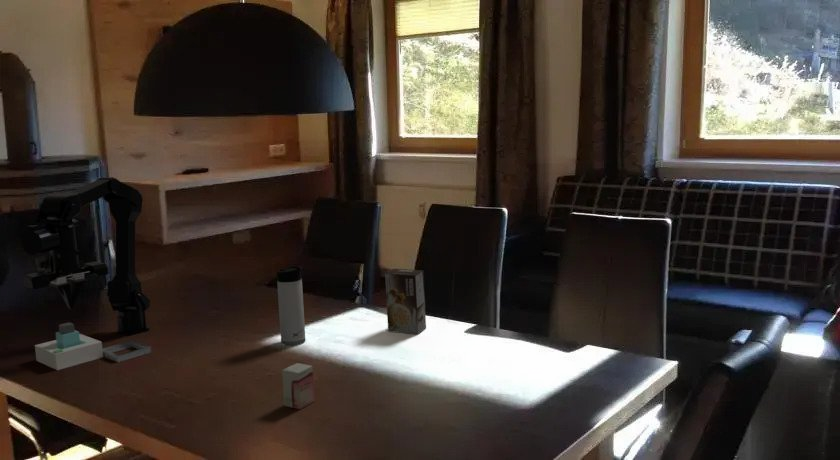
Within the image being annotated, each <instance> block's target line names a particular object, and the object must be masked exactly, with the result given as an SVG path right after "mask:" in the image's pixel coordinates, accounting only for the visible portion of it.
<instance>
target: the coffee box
mask: <svg viewBox="0 0 840 460" xmlns="http://www.w3.org/2000/svg"><path fill="white" fill-rule="evenodd" d="M424 271H425V270H423V269H421V270H420V269H419V270H418V269H406V268H405V269H403V268H401V269H400V268H393V269H391V270H389V271H387V272H386V273H385V274H384V275H385V280H384V281H385V296H386V297H385V298H386V314H387V315H386V317H387V332H388V333H389V332H390V333H401V334H402V333H403V334H413V335H419V334H421V333H422V332H424V330H426V329H427V320H426V315H427V314H426V297H425V295H426V293H425V292H426V291H425V272H424Z"/></svg>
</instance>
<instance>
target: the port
mask: <svg viewBox="0 0 840 460" xmlns="http://www.w3.org/2000/svg"><path fill="white" fill-rule="evenodd" d="M79 337H80V345H76V346H73V347H69V348H65V349H59V348H57V341H56V339H55V340H50V341H46V342H42V343H39V344H35V345H34V349H35V358H36V359H35V360H36V361H37V362H38V363H41V364H43V365H45V366H47V367H49V368H51V369H54V370H55V371H59V370H63V369H66V368H67V369H68V368H70V367H74V366H77V365H80V364H84V363H88V362H92V361H95V360H99V359H102V358H104V357H103V342H102V341H101V340H98V339H95V338H92V337H90V336H87V335H84V334H83V333H79Z"/></svg>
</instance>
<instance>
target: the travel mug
mask: <svg viewBox="0 0 840 460" xmlns="http://www.w3.org/2000/svg"><path fill="white" fill-rule="evenodd" d="M302 270H303V266H301V265H296V266H289V267H284V268H283V267H282V268H281V269H279V270H278V271H277V270H276V277H277V278H276V283H277V286H276V288H277V298H278V302H277V303H278V315H279V316H278V317H279V330H280V331H279V332H280V344H281V345H283V346H287V347H288V346H290V347H292V346H293V347H294V346H298V345H302V344H304V343H305V342H306V329H305V327H306V326H305V311H304V309H305V308H304V293H303V279H302Z"/></svg>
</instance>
